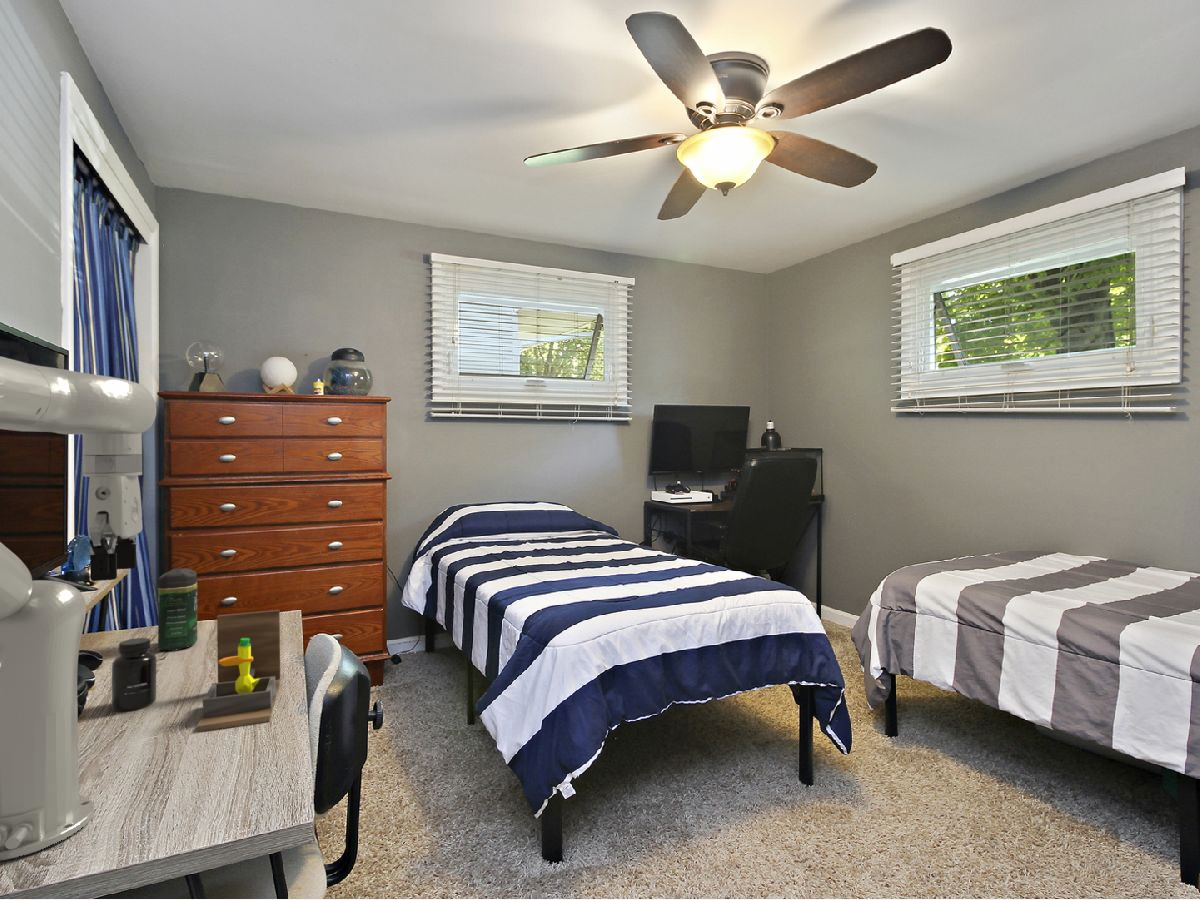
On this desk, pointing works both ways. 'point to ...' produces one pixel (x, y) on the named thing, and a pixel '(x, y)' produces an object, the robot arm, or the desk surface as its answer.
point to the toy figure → (242, 667)
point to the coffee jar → (177, 609)
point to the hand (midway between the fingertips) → (114, 574)
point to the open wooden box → (258, 705)
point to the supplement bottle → (134, 675)
